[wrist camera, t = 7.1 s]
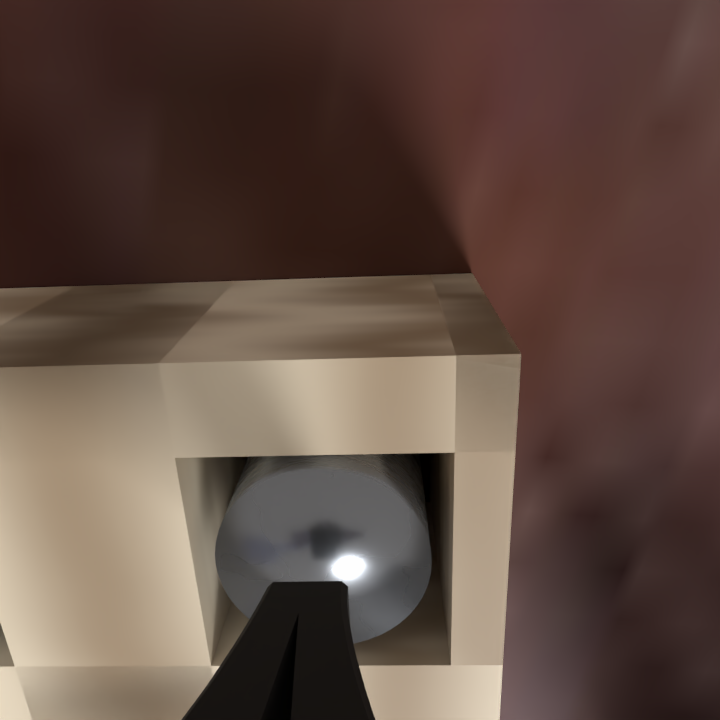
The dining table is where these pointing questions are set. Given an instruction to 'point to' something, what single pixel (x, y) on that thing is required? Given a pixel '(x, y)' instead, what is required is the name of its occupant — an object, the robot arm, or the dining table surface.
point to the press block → (223, 470)
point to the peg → (330, 533)
